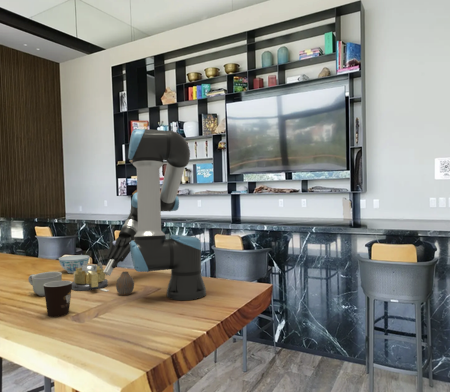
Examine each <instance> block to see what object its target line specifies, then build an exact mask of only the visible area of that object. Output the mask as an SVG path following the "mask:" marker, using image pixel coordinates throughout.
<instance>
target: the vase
mask: <svg viewBox="0 0 450 392" xmlns="http://www.w3.org/2000/svg"><path fill="white" fill-rule="evenodd" d="M115 283H116V284H115V287H116V293H118V294H119V295H120V296H128V295H131V294H132V293H133V291H134V288H135V281H134V278H133V277H132V276H131V275H130V273H129V271H127V270H126V271H122V272H121V273H120V276H119V277H118V278H117V280H116V282H115Z"/></svg>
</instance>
